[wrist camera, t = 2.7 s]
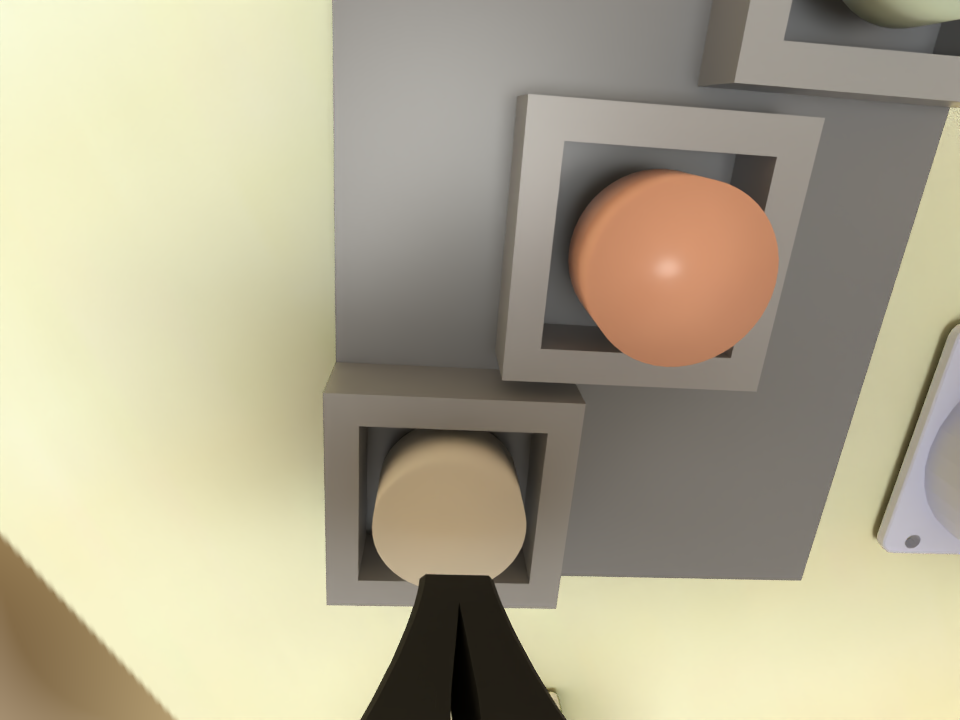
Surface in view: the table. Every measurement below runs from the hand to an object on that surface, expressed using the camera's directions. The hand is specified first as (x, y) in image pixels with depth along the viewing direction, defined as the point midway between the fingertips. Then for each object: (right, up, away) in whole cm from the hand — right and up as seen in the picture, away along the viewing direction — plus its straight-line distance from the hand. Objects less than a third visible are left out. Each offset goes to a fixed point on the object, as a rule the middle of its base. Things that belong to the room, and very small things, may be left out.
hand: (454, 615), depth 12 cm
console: (+4, +9, +5) cm, 11 cm away
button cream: (0, +2, +4) cm, 5 cm away
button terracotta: (+4, +7, +1) cm, 8 cm away
